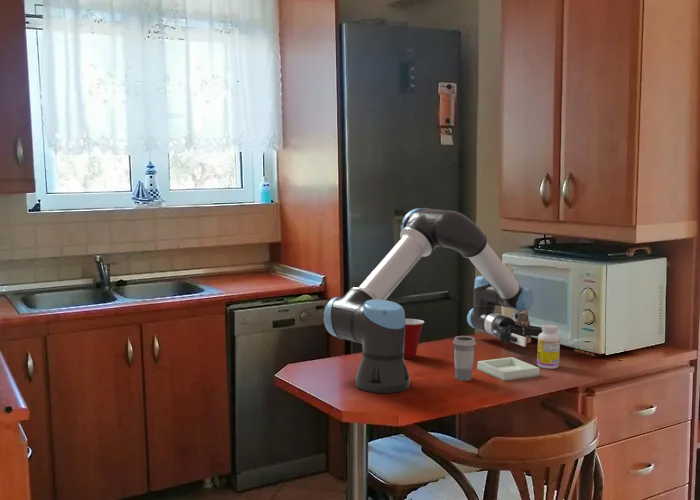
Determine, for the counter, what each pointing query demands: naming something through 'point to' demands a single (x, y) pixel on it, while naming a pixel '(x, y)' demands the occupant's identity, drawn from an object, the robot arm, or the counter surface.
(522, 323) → the figurine
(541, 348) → the supplement bottle
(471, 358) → the cup
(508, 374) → the tray
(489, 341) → the counter surface
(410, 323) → the plastic cup
